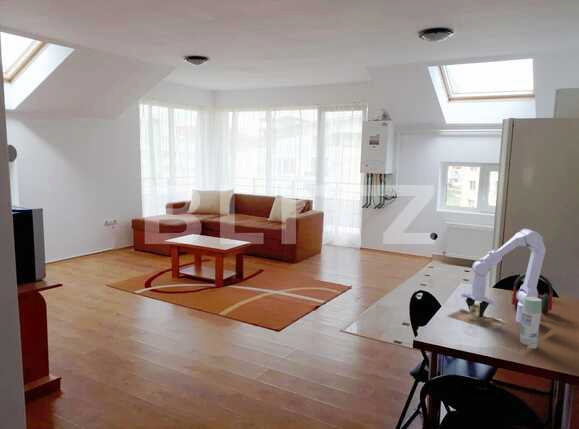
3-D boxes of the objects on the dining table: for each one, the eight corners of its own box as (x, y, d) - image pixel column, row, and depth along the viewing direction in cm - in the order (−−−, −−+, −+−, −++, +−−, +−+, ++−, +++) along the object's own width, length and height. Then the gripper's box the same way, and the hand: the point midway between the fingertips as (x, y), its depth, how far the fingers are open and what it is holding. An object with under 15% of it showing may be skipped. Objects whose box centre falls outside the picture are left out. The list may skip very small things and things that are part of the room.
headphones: (511, 311, 225) (514, 272, 222) (511, 305, 234) (514, 268, 231) (551, 317, 217) (555, 277, 214) (550, 311, 226) (554, 272, 223)
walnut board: (507, 324, 206) (508, 319, 206) (493, 333, 196) (493, 327, 195) (462, 311, 222) (462, 306, 222) (446, 319, 212) (446, 313, 211)
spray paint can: (540, 348, 181) (545, 301, 178) (526, 349, 180) (531, 301, 177) (529, 342, 187) (533, 295, 185) (515, 343, 186) (519, 296, 183)
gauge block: (484, 317, 211) (485, 305, 210) (475, 321, 205) (476, 309, 204) (476, 315, 214) (477, 302, 213) (467, 319, 208) (468, 306, 207)
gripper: (459, 285, 210) (457, 313, 211) (490, 292, 199) (488, 322, 201) (466, 282, 214) (464, 309, 216) (497, 289, 204) (494, 318, 206)
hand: (476, 315), depth 209 cm, fingers closed on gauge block, 4 cm apart
